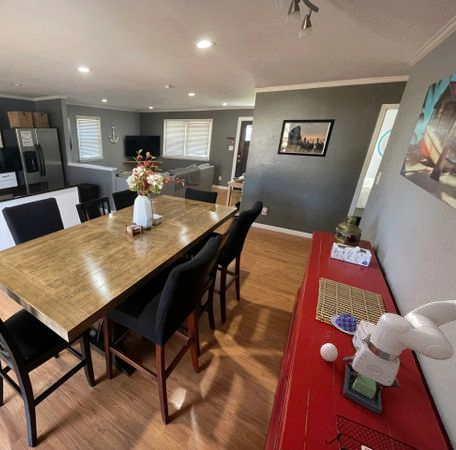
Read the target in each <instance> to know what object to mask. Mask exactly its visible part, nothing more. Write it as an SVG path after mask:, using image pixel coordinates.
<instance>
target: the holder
mask: <svg viewBox="0 0 456 450" xmlns="http://www.w3.org/2000/svg"><path fill="white" fill-rule="evenodd" d="M351 363H353V362H351ZM350 374H351V371H350V369H349V368H348V366H347V365H346V364H345V366H344V378H343V379H344V380H343V391H342V395H343V396H344V397H346V398H348V399H349V400H352V401H353V402H355V403H357V404H359V405H361V406H363V407H364V408H366V409H368V410H370V411H371V412H373V413H376V414H377V415H381V413H382V411H383V408H382V389H381V390H380V391H379V393H376V394H375V396H373V398H372V399H371V398H369V397H367V396H365V395H363V394H361V393H359V392H357V391H356V390H354V389H352V388H353V384H351V379H349V376H350Z"/></svg>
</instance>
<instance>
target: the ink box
mask: <svg viewBox="0 0 456 450" xmlns="http://www.w3.org/2000/svg"><path fill="white" fill-rule="evenodd" d="M358 325H359V326H358V329H357V331H356V333H355V335H353V338H352V340H351V341H352V343H353V344H352V345H353V346H354V349H355V351H356V352H357V351H358V349H359V348H360V347H361V346H362V345H363V344H364V343H365V342H363V341H362V339H363V337H364V338H367V339H368V338H369V337H371V335H372V333H373V331H374V329H375V327H376V325H377V324H375V323H372V322H370V321H366V320H363V319H361V320H360V322H359V324H358Z"/></svg>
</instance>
